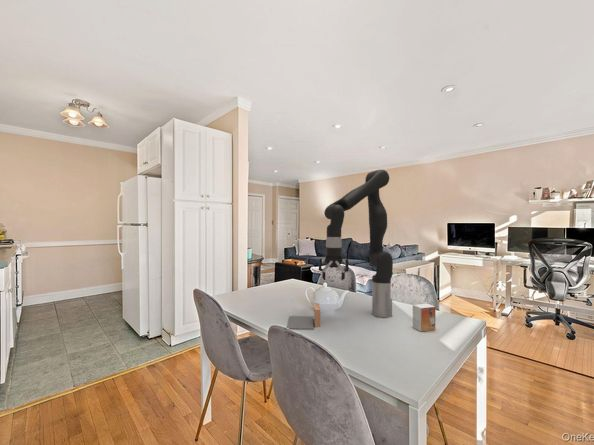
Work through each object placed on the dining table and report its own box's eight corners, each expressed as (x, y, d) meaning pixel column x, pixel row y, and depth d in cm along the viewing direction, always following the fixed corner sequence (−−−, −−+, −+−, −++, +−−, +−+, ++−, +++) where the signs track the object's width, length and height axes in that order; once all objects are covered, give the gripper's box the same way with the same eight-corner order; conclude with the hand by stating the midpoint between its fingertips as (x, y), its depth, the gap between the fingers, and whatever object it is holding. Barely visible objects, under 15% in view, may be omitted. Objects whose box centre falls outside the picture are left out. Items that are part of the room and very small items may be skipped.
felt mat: (312, 316, 136) (312, 316, 136) (313, 329, 120) (313, 328, 120) (289, 316, 137) (289, 316, 137) (287, 329, 121) (287, 328, 121)
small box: (420, 332, 117) (420, 308, 117) (412, 327, 122) (412, 304, 122) (436, 330, 119) (435, 306, 119) (426, 325, 124) (426, 303, 124)
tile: (319, 319, 133) (319, 303, 133) (320, 327, 123) (320, 309, 123) (314, 319, 133) (314, 303, 133) (315, 327, 123) (314, 309, 123)
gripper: (347, 246, 132) (347, 278, 131) (318, 245, 132) (318, 278, 132) (349, 247, 124) (349, 282, 124) (319, 246, 125) (318, 281, 125)
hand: (333, 280), depth 128 cm, fingers open, 8 cm apart
